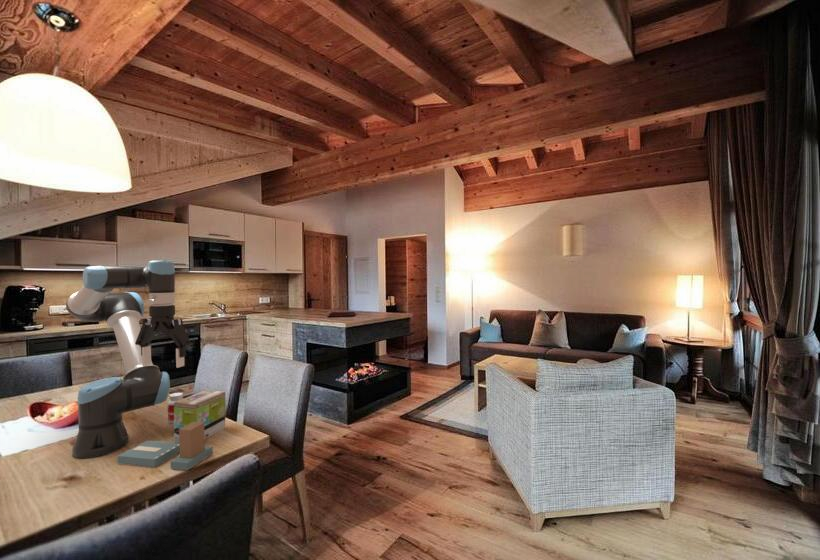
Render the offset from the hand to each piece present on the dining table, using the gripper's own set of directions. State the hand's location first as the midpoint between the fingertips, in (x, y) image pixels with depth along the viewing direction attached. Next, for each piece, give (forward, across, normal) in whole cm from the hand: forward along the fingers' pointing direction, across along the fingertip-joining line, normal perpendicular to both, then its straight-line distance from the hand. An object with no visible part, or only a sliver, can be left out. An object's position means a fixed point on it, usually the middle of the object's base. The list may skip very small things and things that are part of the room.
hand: (163, 365), depth 128 cm
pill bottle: (+29, -15, +21) cm, 39 cm away
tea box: (+29, +5, +11) cm, 31 cm away
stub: (+29, +17, -6) cm, 34 cm away
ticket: (+29, +1, -6) cm, 29 cm away
